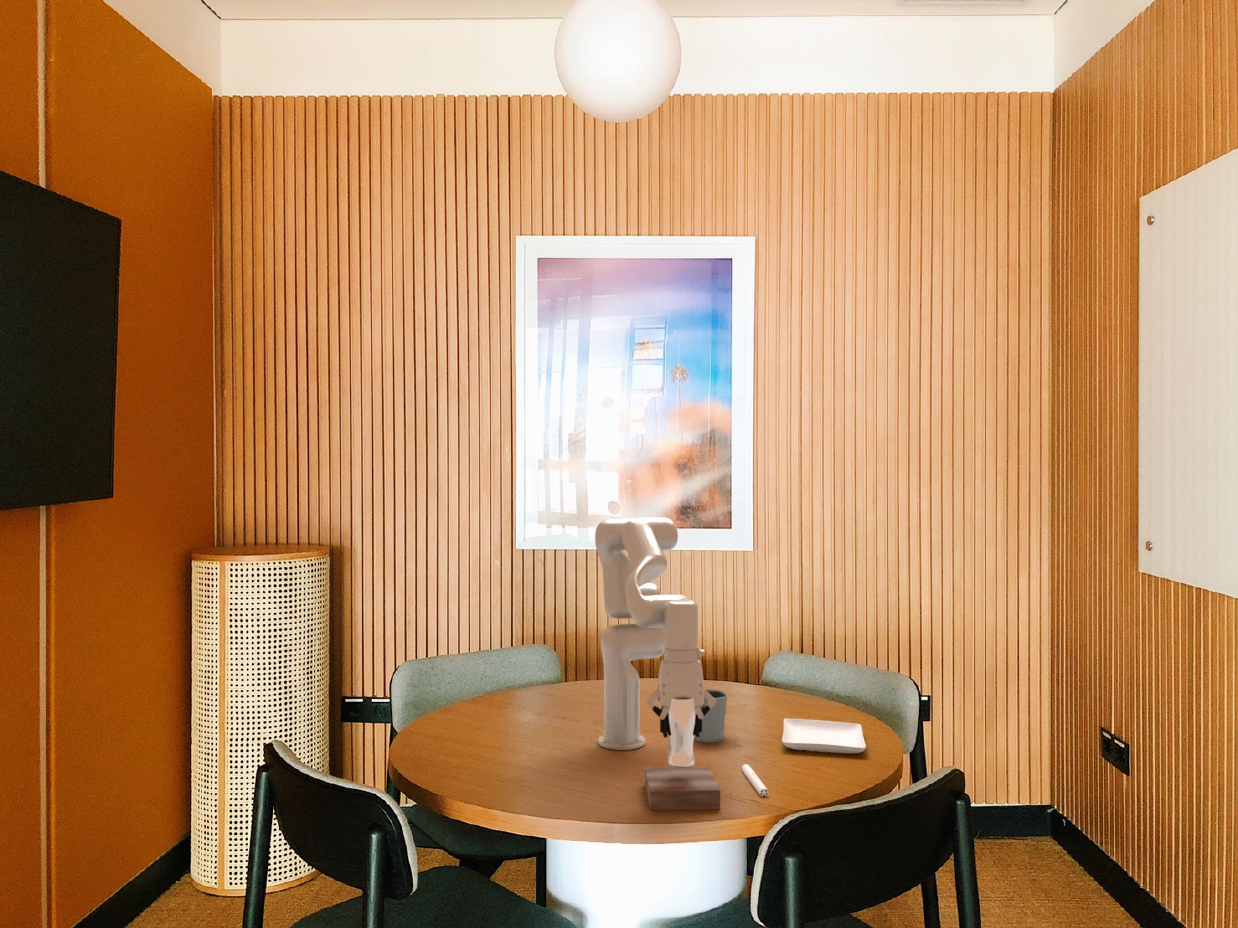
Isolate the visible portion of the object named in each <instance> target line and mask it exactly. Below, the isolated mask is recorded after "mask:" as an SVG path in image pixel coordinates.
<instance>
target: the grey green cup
mask: <svg viewBox="0 0 1238 928" xmlns="http://www.w3.org/2000/svg"><path fill="white" fill-rule="evenodd" d="M705 690H706V691H707V692H708V693H709V694H710V695H711V696H713V697H714V698H715V700H716V704H715V705H714V706H713V707H712V708H711V709H710V711H709V712H708V713H707V714H706V715H705V716H704V718H703V719H702V732H699V737H696V735H694V740H695V741H697V742H700V743H717V742H718V743H719V742H721V741H723V740H724V736H725V732H724V731H725V721H726V720H725V719H726V713H727V711H726V710H727V707H726V706H727V701H728V694H727V693H726V692H724V691H721V690H717V689H705ZM707 702H708V700H707V699H706V698H705V697H704V704H703V705H702V706H700V709H701V708H702V707H703V706H704V705H705V704H706V703H707Z"/></svg>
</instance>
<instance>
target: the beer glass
mask: <svg viewBox="0 0 1238 928" xmlns="http://www.w3.org/2000/svg"><path fill="white" fill-rule="evenodd" d="M666 719H667V738H668V749H669V750H668V755H667V756H668V757H667V764H668V765H669V766H670V767H694V765H695V761H696V760H695V755H694V735H695V729H696V720H697V713H696V707H695V704H694V698H691V699H674V698H672V700H671V704H670V707H669V708H668V713H667V715H666Z"/></svg>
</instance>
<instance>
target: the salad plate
mask: <svg viewBox="0 0 1238 928" xmlns="http://www.w3.org/2000/svg"><path fill="white" fill-rule="evenodd" d="M781 737H782V738H781V743H782V744H783V745H784V746H785V747H786V748H788V749H792V750H796V751H802V750H806V751H805V752H815V751H817V753H829V752H830V754H831V753H833V754H846V755H847V754H848V755H849V754H859V753H862V752H864V751H865V750H866V748H867V744H866V742H865V741H866V740H865V739H864V738H865V737H864V733H863V727H862V724H860V723H854V722H853V723H852V722H842V721H831V720H822V719H821V720H818V719H805V718H804V719H803V718H787V717H786V718H783V732H782V736H781Z"/></svg>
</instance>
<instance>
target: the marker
mask: <svg viewBox="0 0 1238 928" xmlns="http://www.w3.org/2000/svg"><path fill="white" fill-rule="evenodd" d="M741 770H742V772H743V774H744V775H745V776H746V778H747V779H748V781H749V782H750V784H751V785H752V786H753V787H754V788H753V789H755V790H756V792H757V793H758V794H759V796H760V797H764V796H765V797H768V796H769V795H770V794H769V790H768V788H767V787H766V786H765V784H764V783H763V782H762V781H761V779H760V778H759V776H758V775H757V774H756V773H755V771H754V770H753V769H752V767H751V766H750V765H749V764H745V763H744V764H743V765H742V766H741Z"/></svg>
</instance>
